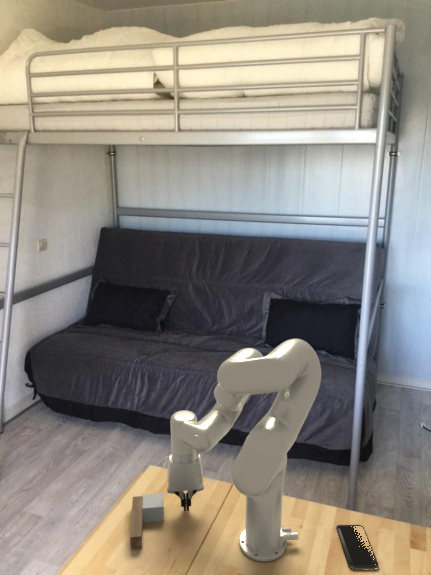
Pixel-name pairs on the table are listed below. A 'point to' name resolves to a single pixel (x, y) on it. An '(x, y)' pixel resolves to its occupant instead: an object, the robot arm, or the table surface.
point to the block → (153, 507)
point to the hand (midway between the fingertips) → (186, 507)
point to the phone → (355, 548)
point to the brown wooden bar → (136, 523)
